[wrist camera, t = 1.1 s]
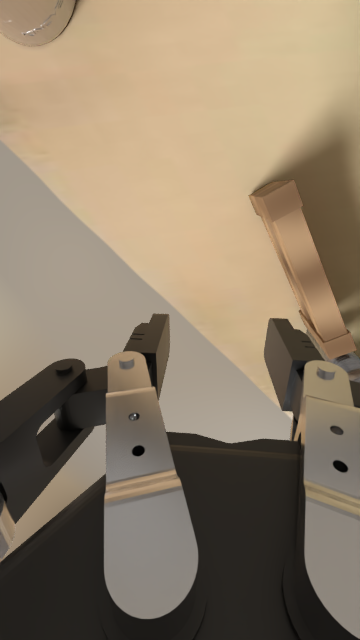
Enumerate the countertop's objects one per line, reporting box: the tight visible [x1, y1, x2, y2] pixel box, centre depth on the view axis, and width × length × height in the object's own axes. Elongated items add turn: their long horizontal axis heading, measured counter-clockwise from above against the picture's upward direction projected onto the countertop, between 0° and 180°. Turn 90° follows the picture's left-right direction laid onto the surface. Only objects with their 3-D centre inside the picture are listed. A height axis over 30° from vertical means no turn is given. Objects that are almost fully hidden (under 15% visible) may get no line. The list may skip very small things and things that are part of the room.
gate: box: [249, 180, 357, 360], centre depth 26 cm, size 16×2×8 cm, turn 30°
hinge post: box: [307, 329, 360, 383], centre depth 28 cm, size 3×3×12 cm
